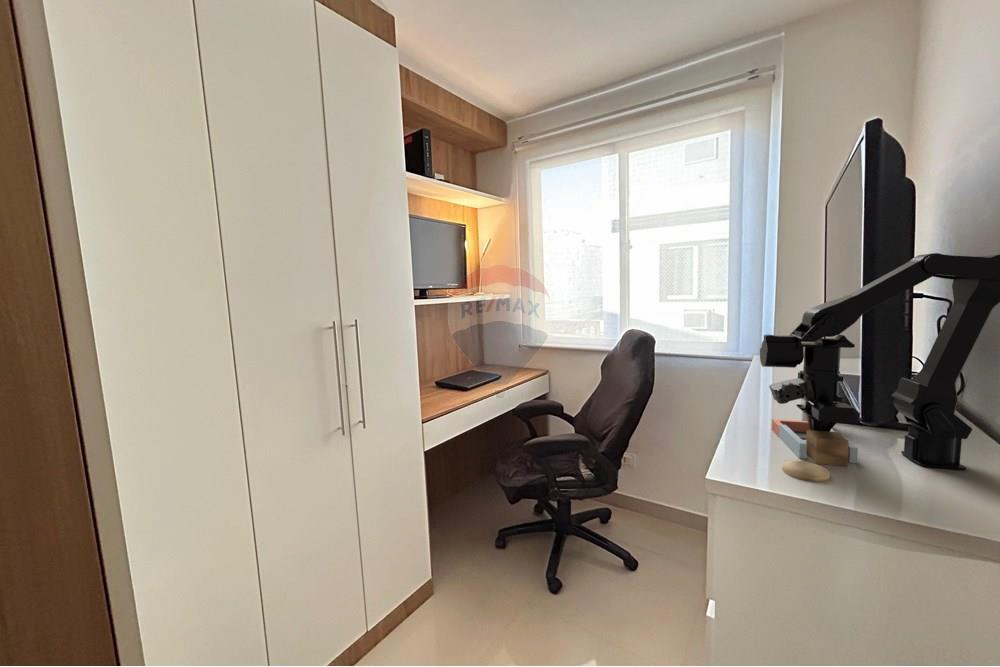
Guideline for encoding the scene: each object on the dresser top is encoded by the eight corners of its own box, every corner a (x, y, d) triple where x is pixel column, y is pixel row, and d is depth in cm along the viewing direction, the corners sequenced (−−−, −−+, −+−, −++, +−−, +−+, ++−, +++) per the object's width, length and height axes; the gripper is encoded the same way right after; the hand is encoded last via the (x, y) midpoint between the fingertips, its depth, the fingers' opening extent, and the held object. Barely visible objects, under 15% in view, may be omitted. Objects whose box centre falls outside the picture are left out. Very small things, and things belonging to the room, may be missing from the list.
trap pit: (818, 432, 93) (818, 421, 93) (828, 440, 88) (829, 429, 88) (771, 429, 96) (771, 419, 96) (779, 437, 91) (779, 426, 91)
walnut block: (835, 455, 80) (836, 431, 80) (847, 466, 76) (848, 440, 75) (805, 453, 82) (806, 429, 82) (815, 463, 77) (816, 438, 77)
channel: (828, 440, 88) (829, 427, 88) (857, 463, 77) (858, 448, 77) (779, 437, 91) (779, 424, 91) (799, 458, 80) (799, 443, 80)
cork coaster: (819, 466, 76) (820, 462, 76) (837, 483, 69) (837, 479, 69) (776, 462, 78) (777, 458, 78) (789, 478, 72) (789, 474, 72)
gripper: (762, 359, 93) (759, 424, 94) (789, 376, 75) (786, 456, 77) (820, 360, 89) (816, 428, 91) (863, 379, 71) (858, 462, 73)
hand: (817, 442), depth 83 cm, fingers closed
